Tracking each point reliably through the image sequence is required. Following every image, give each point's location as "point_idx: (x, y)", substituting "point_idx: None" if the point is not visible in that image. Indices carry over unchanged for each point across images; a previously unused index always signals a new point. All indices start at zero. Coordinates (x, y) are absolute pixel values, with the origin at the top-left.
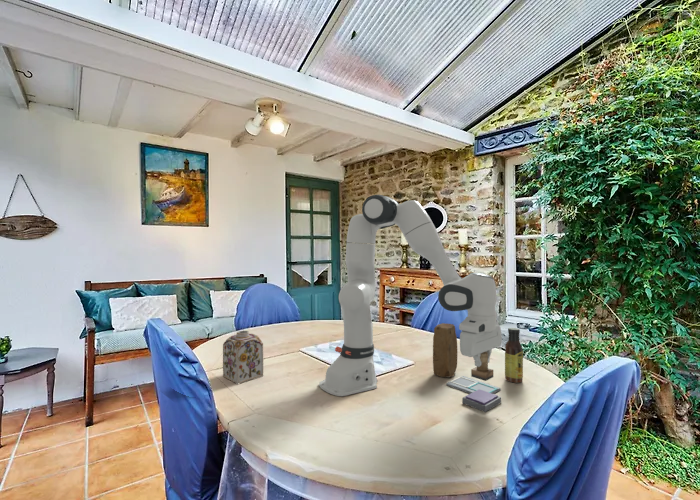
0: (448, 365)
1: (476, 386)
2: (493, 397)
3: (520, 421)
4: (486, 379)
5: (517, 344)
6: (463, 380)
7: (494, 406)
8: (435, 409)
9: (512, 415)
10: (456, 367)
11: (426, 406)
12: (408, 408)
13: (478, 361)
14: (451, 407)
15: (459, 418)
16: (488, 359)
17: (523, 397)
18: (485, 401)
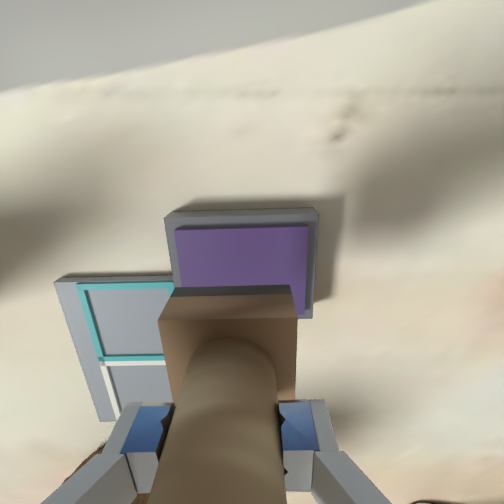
0: (144, 495)
1: (139, 346)
2: (212, 232)
3: (276, 44)
4: (276, 288)
5: None
6: (137, 400)
7: (231, 210)
8: (430, 333)
9: (247, 107)
10: (78, 468)
11: (429, 362)
12: (483, 385)
13: (343, 459)
14: (373, 309)
15: (442, 243)
16: (134, 434)
17: (23, 172)
18: (286, 233)
